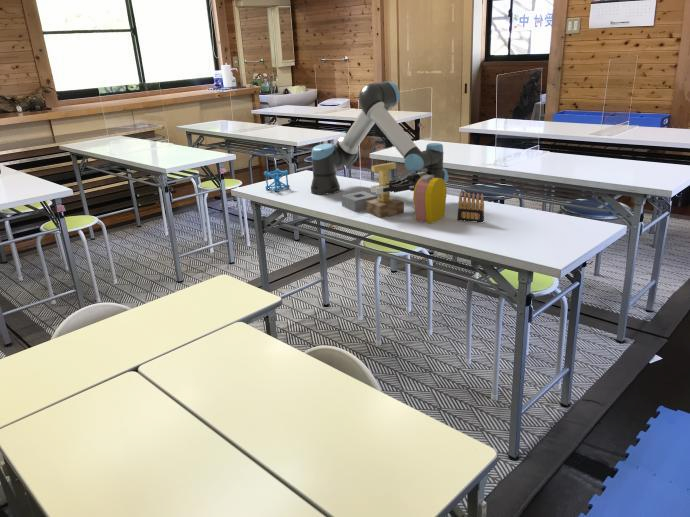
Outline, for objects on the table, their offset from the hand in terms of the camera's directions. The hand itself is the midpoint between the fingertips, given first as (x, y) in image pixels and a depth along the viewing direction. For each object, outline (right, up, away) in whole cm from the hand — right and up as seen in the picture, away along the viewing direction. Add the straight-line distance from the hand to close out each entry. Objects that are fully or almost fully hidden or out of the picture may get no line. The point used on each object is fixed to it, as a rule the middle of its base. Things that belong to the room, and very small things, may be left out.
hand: (373, 190), depth 234 cm
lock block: (+5, -9, +6) cm, 12 cm away
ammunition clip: (+39, -14, -11) cm, 43 cm away
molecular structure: (-48, +8, +57) cm, 75 cm away
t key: (+5, -9, +6) cm, 12 cm away
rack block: (-6, -5, +18) cm, 19 cm away
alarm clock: (+23, -13, -5) cm, 27 cm away
